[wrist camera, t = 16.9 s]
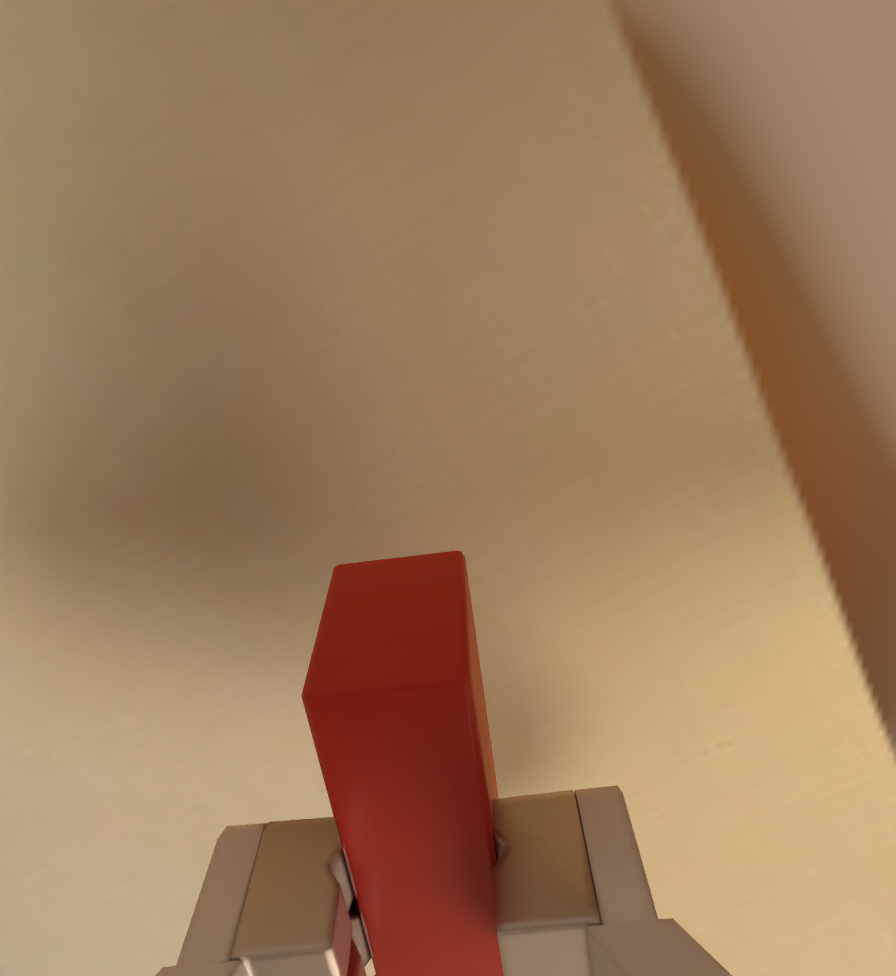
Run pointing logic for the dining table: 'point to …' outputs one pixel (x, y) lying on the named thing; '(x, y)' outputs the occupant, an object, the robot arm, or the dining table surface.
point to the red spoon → (409, 761)
